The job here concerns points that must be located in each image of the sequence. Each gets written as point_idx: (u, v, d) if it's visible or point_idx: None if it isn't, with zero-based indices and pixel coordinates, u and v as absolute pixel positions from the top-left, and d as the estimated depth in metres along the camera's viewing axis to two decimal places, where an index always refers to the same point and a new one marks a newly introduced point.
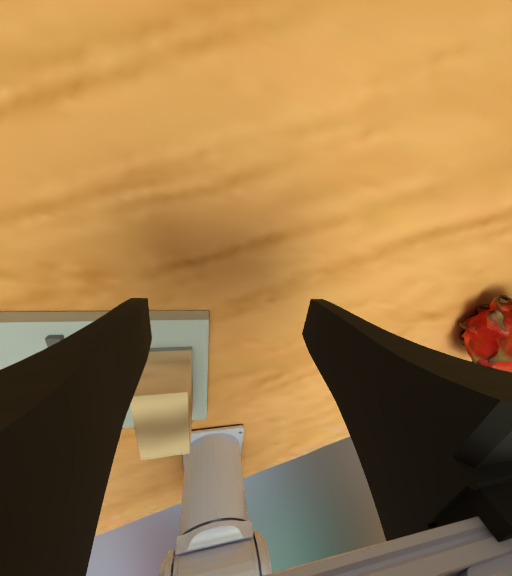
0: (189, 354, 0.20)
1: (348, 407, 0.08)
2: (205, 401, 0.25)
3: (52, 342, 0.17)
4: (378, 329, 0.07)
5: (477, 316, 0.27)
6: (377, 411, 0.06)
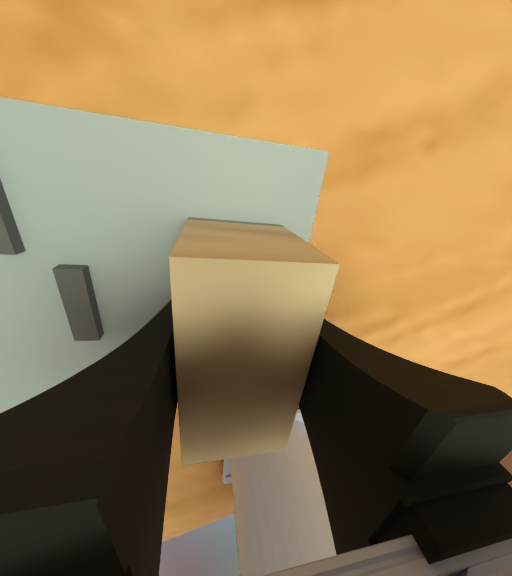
0: (285, 229, 0.09)
1: (308, 412, 0.07)
2: None
3: None
4: (337, 330, 0.07)
5: None
6: (329, 417, 0.06)
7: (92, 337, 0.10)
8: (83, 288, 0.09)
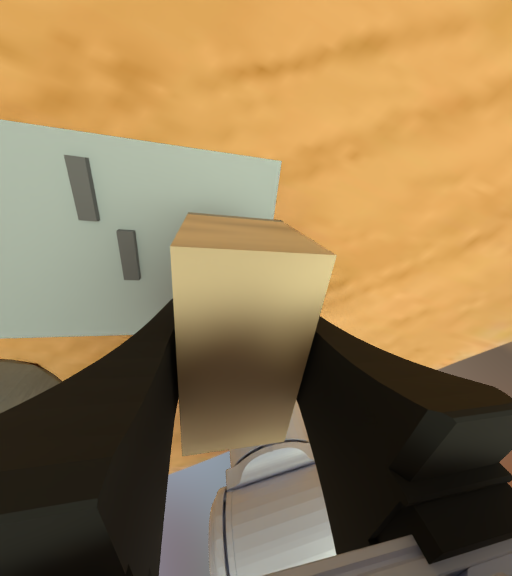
0: (284, 224, 0.09)
1: (308, 412, 0.07)
2: None
3: (74, 163, 0.12)
4: (337, 330, 0.07)
5: None
6: (329, 417, 0.06)
7: (135, 278, 0.16)
8: (132, 244, 0.15)
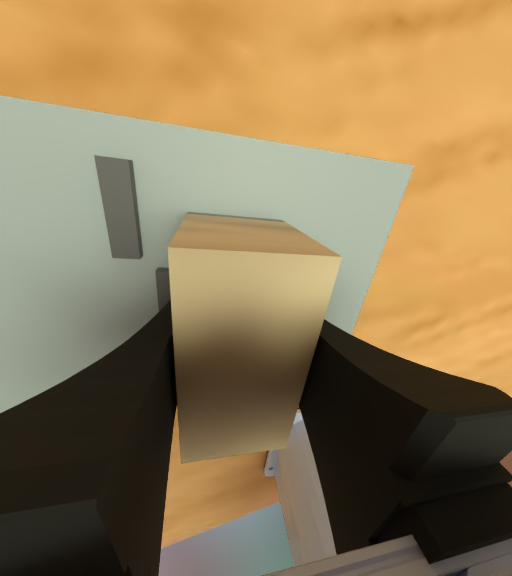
0: (286, 224, 0.09)
1: (308, 412, 0.07)
2: None
3: (111, 169, 0.07)
4: (338, 330, 0.07)
5: None
6: (330, 417, 0.06)
7: None
8: None
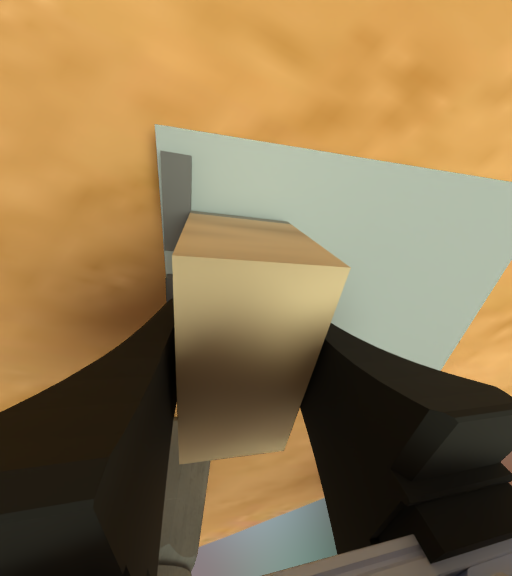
0: (292, 227, 0.09)
1: (308, 412, 0.07)
2: (453, 347, 0.17)
3: (174, 164, 0.08)
4: (338, 330, 0.07)
5: None
6: (331, 417, 0.06)
7: None
8: None
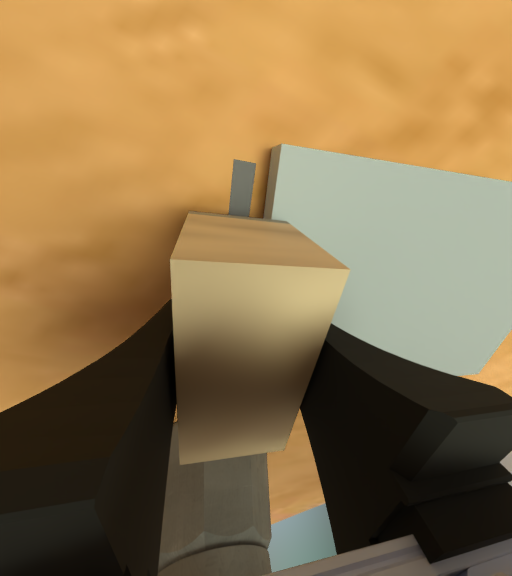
0: (291, 226, 0.09)
1: (308, 412, 0.07)
2: (498, 345, 0.17)
3: None
4: (338, 330, 0.07)
5: None
6: (330, 417, 0.06)
7: None
8: None
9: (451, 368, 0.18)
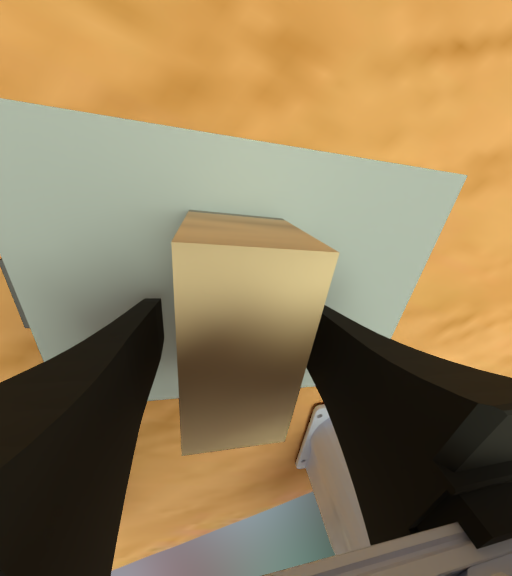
0: (286, 222, 0.09)
1: (335, 408, 0.08)
2: None
3: None
4: (365, 329, 0.07)
5: None
6: (362, 413, 0.06)
7: None
8: (7, 276, 0.10)
9: None
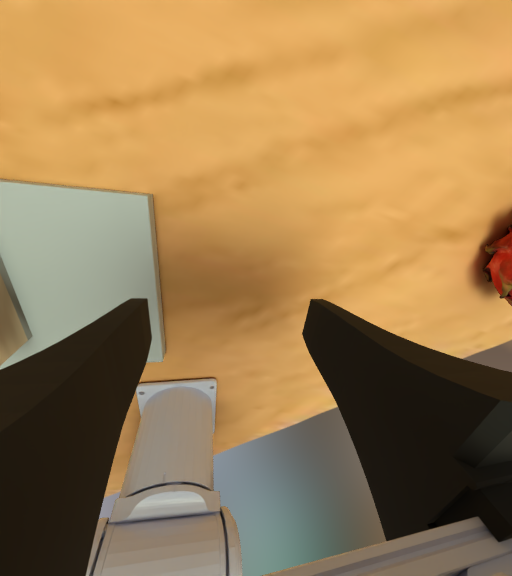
0: None
1: (348, 407, 0.08)
2: (158, 334, 0.19)
3: None
4: (378, 329, 0.07)
5: (509, 234, 0.21)
6: (377, 411, 0.06)
7: None
8: None
9: None
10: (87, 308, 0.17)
